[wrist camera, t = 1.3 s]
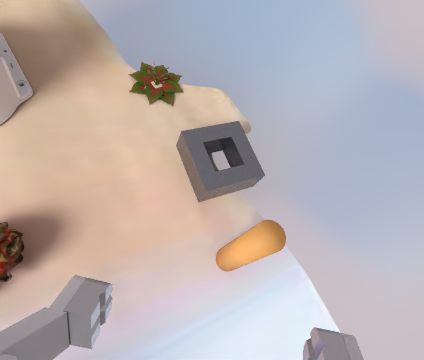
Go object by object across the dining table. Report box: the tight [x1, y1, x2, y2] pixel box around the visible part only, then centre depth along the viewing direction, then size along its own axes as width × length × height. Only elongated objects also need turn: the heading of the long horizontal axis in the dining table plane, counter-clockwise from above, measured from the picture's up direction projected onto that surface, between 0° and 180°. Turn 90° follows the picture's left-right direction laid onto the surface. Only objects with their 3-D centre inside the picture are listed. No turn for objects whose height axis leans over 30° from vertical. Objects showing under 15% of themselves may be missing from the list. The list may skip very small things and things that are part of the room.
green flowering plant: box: [129, 62, 183, 106], centre depth 59 cm, size 12×12×5 cm
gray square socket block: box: [176, 121, 265, 202], centre depth 54 cm, size 12×12×5 cm
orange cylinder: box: [216, 220, 286, 271], centre depth 42 cm, size 4×4×16 cm
